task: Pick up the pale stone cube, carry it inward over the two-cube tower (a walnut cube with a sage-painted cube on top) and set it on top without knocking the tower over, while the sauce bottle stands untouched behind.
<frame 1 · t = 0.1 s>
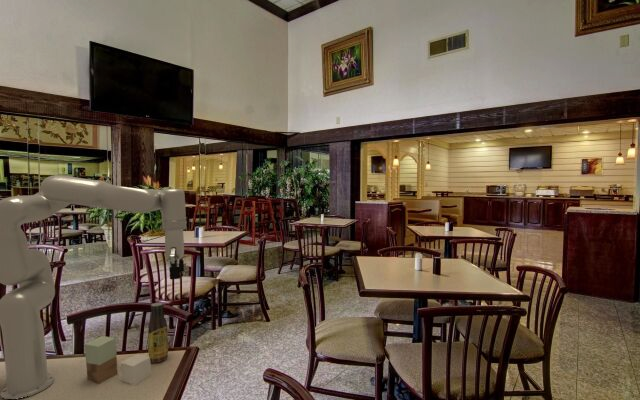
hand: (177, 275, 115), 31 cm above the table, tool pointing down, fingers open, 9 cm apart
walnut cube: (102, 377, 110), on the table, touching sage cube
sauce bottle: (159, 359, 120), on the table
sage cube: (101, 359, 110), point 6 cm above the table, touching walnut cube
stone cube: (136, 377, 109), on the table
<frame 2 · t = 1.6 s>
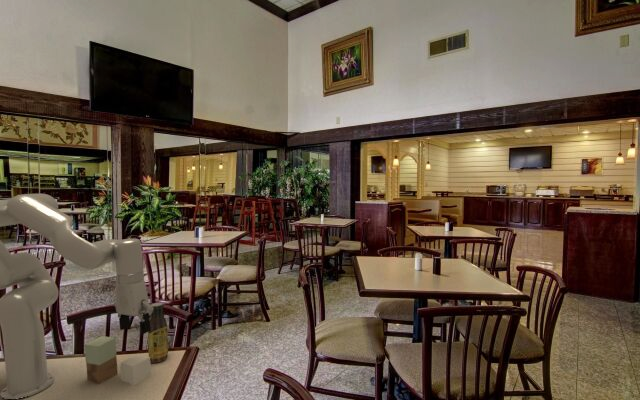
hand: (135, 330, 108), 16 cm above the table, tool pointing down, fingers open, 9 cm apart
nothing on the table moved.
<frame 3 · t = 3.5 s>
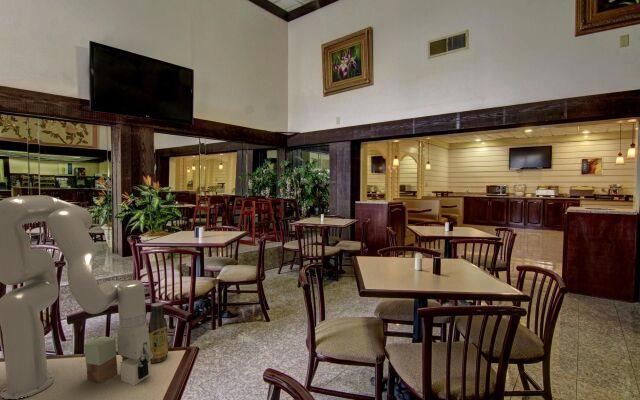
hand: (136, 374, 109), 1 cm above the table, tool pointing down, fingers closed on stone cube, 6 cm apart
stone cube: (136, 377, 109), on the table, touching gripper
everything else where it was.
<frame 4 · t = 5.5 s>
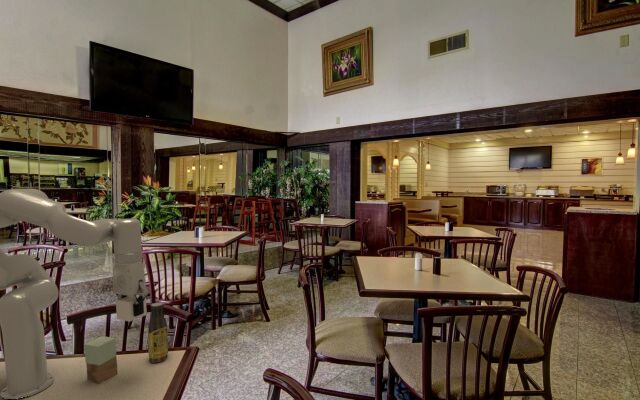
hand: (131, 312, 108), 21 cm above the table, tool pointing down, fingers closed on stone cube, 6 cm apart
stone cube: (132, 316, 108), point 20 cm above the table, touching gripper
everything else where it was.
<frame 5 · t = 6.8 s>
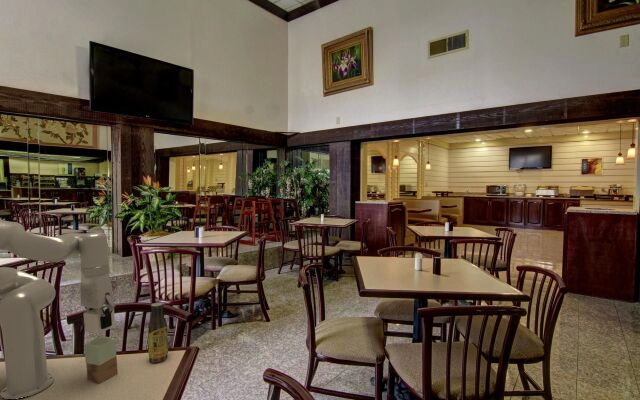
hand: (99, 325, 109), 17 cm above the table, tool pointing down, fingers closed on stone cube, 6 cm apart
stone cube: (100, 328, 109), point 16 cm above the table, touching gripper
everything else where it was.
when the fingers open (14 cm above the table, at t = 7.8 s): stone cube stays where it is, resting on sage cube.
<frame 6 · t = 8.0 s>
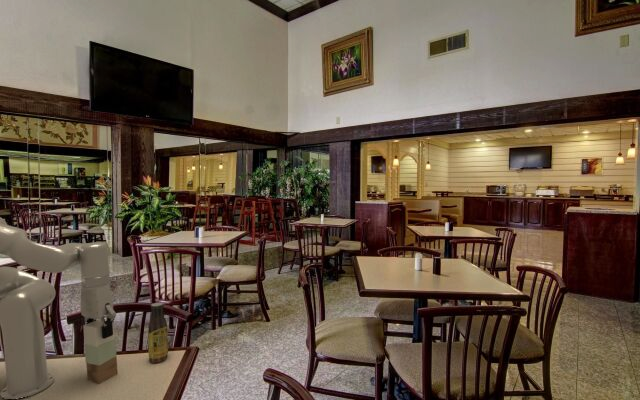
hand: (99, 334, 109), 14 cm above the table, tool pointing down, fingers open, 7 cm apart
sage cube: (101, 359, 110), point 6 cm above the table, touching stone cube, walnut cube
stone cube: (99, 341, 109), point 12 cm above the table, touching sage cube
everything else where it was.
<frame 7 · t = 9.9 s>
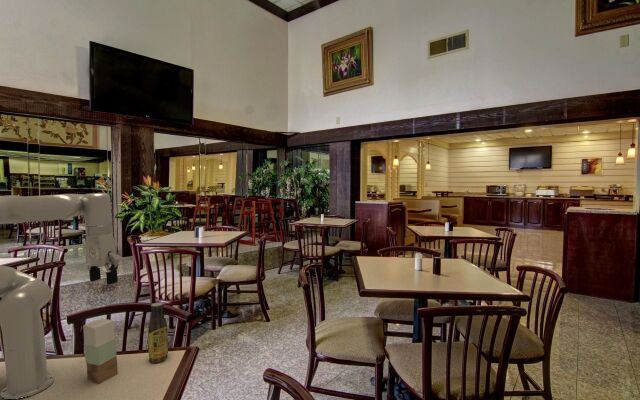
hand: (103, 281, 112), 31 cm above the table, tool pointing down, fingers open, 9 cm apart
nothing on the table moved.
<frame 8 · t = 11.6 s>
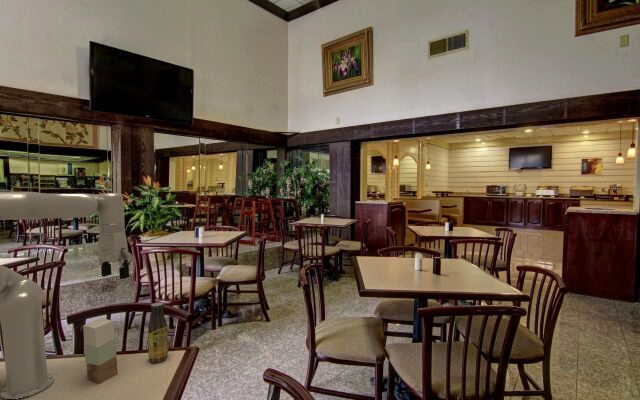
hand: (115, 276, 118), 30 cm above the table, tool pointing down, fingers open, 9 cm apart
nothing on the table moved.
at the end: stone cube 0.1 cm off-centre on the sage cube, point 6.0 cm above the sage cube's base; stone cube tilted 0°; sage cube moved 0.2 cm from its start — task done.
